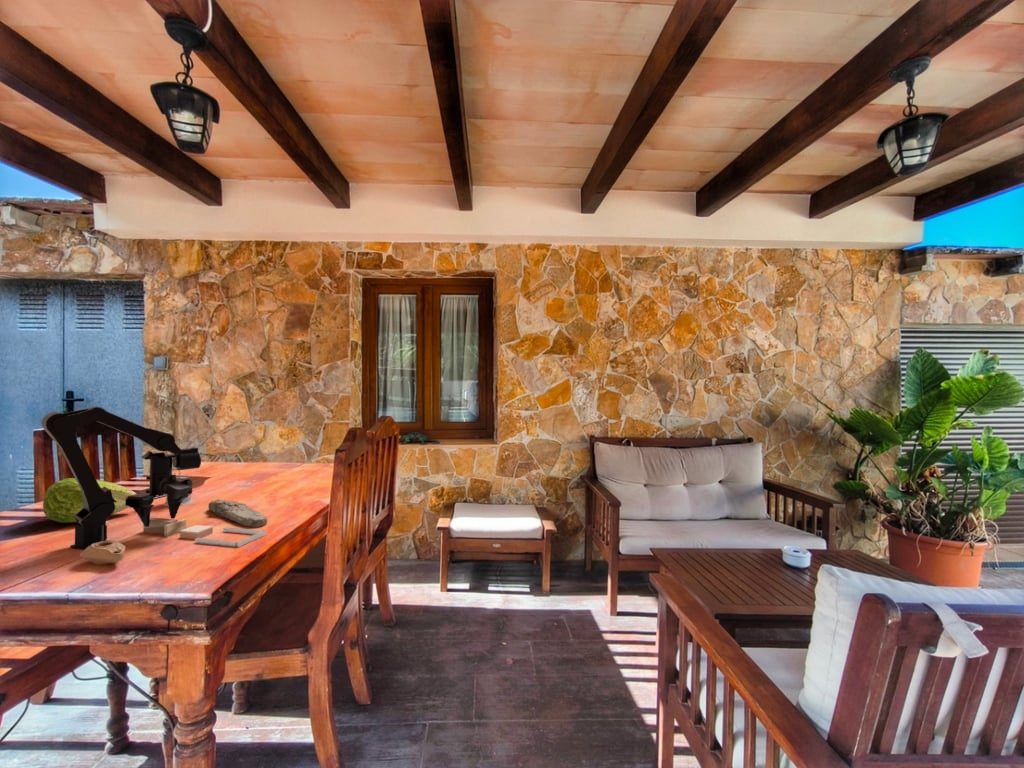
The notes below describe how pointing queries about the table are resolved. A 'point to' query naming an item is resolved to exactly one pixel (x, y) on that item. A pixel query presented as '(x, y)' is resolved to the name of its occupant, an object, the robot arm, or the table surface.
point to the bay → (255, 535)
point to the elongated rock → (238, 513)
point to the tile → (196, 532)
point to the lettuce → (77, 499)
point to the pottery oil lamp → (104, 552)
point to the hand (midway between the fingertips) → (160, 522)
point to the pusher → (165, 526)
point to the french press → (181, 478)
